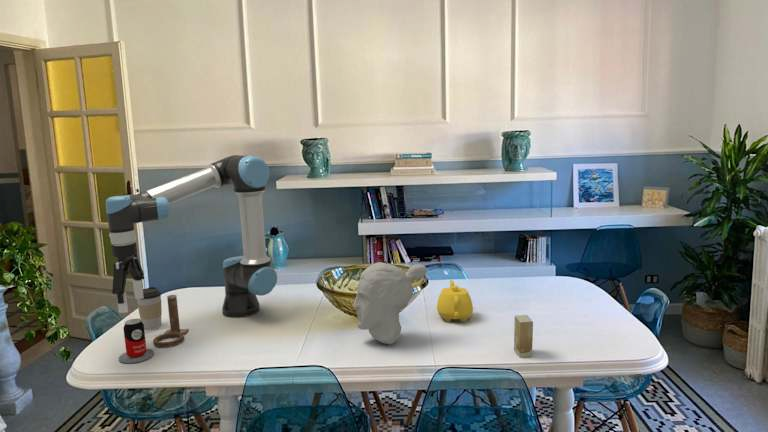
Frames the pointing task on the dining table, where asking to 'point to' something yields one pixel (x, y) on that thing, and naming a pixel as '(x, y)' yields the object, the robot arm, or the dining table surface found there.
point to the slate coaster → (129, 360)
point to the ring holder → (171, 326)
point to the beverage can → (134, 338)
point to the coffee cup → (150, 308)
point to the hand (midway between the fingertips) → (131, 305)
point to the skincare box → (523, 336)
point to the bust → (384, 298)
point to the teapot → (454, 303)
